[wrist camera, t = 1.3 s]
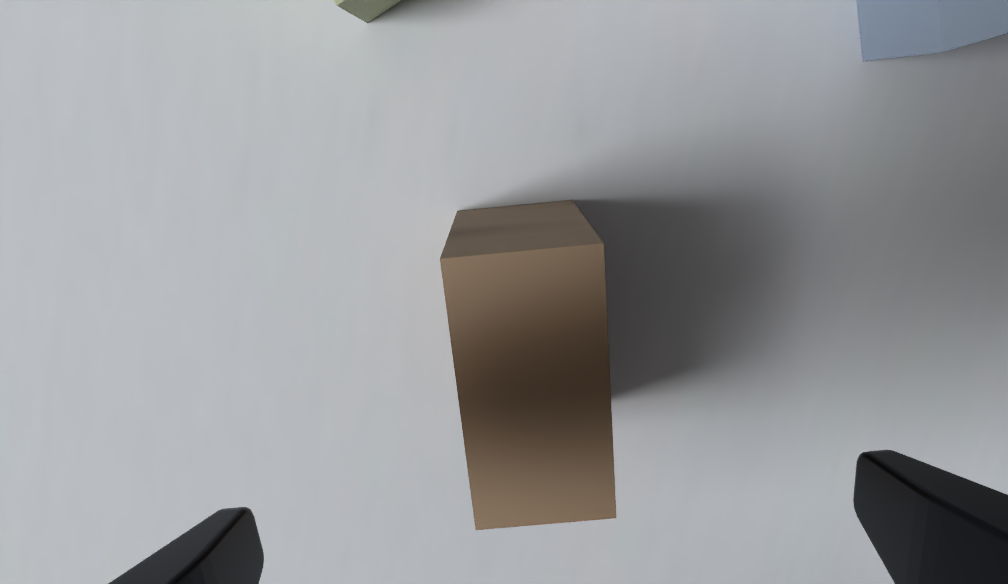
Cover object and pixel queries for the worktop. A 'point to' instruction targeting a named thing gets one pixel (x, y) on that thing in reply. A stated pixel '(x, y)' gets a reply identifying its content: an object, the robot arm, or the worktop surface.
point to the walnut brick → (531, 363)
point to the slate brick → (927, 25)
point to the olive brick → (366, 7)
